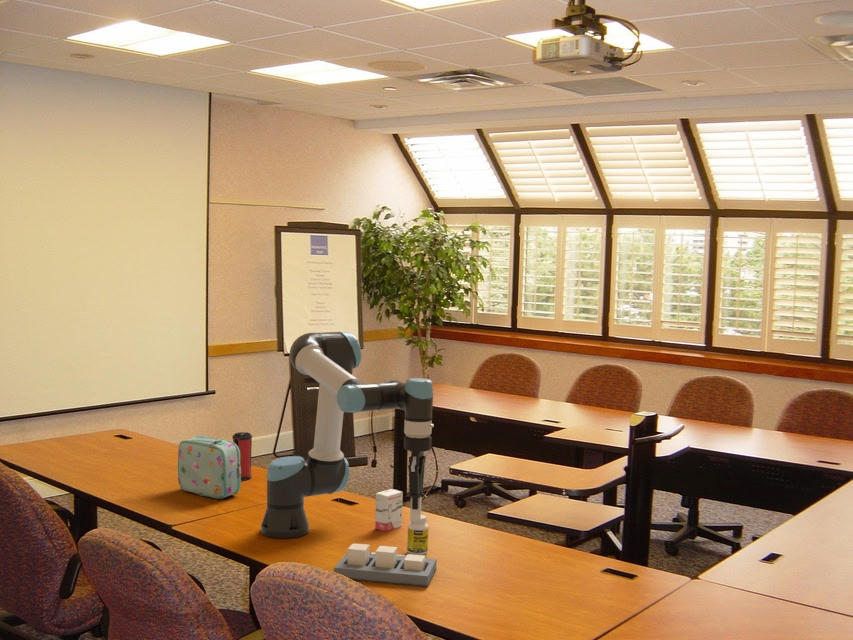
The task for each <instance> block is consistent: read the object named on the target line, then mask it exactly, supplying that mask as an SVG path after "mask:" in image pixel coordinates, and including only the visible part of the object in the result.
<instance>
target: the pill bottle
mask: <svg viewBox="0 0 853 640" xmlns="http://www.w3.org/2000/svg"><path fill="white" fill-rule="evenodd" d="M406 543H407V544H406V545H407V546H406V551H407V554H413V555H424V556H425V555H426V554H428V550H429V525H428V523H427V516H426V515H424V514H421V520H420V521H414V520H410V523H409V524H408V525H407V542H406Z"/></svg>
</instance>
